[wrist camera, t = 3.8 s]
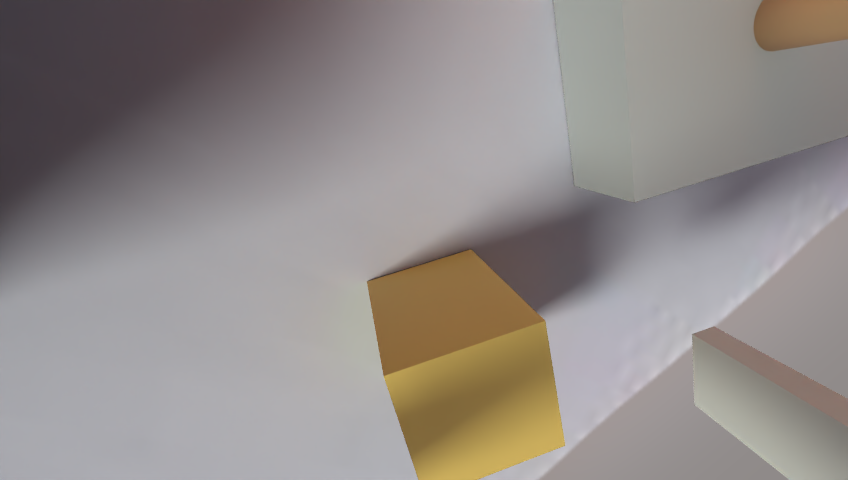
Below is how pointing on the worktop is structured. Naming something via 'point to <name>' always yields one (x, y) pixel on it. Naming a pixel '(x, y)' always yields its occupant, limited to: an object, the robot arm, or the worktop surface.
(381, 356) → the yellow rectangular block
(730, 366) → the robot arm
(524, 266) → the worktop surface
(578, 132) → the toggle switch box
